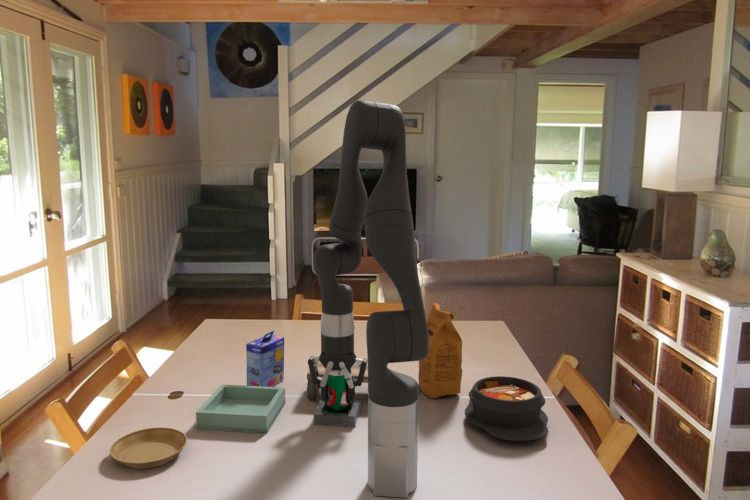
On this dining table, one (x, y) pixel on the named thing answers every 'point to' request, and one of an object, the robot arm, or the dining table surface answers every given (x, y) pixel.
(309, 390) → the trolley
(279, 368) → the ink cartridge box
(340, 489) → the dining table surface
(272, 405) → the tray
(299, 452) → the dining table surface
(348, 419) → the frame
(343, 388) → the soda can
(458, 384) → the coffee package
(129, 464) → the plant saucer
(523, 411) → the casserole
